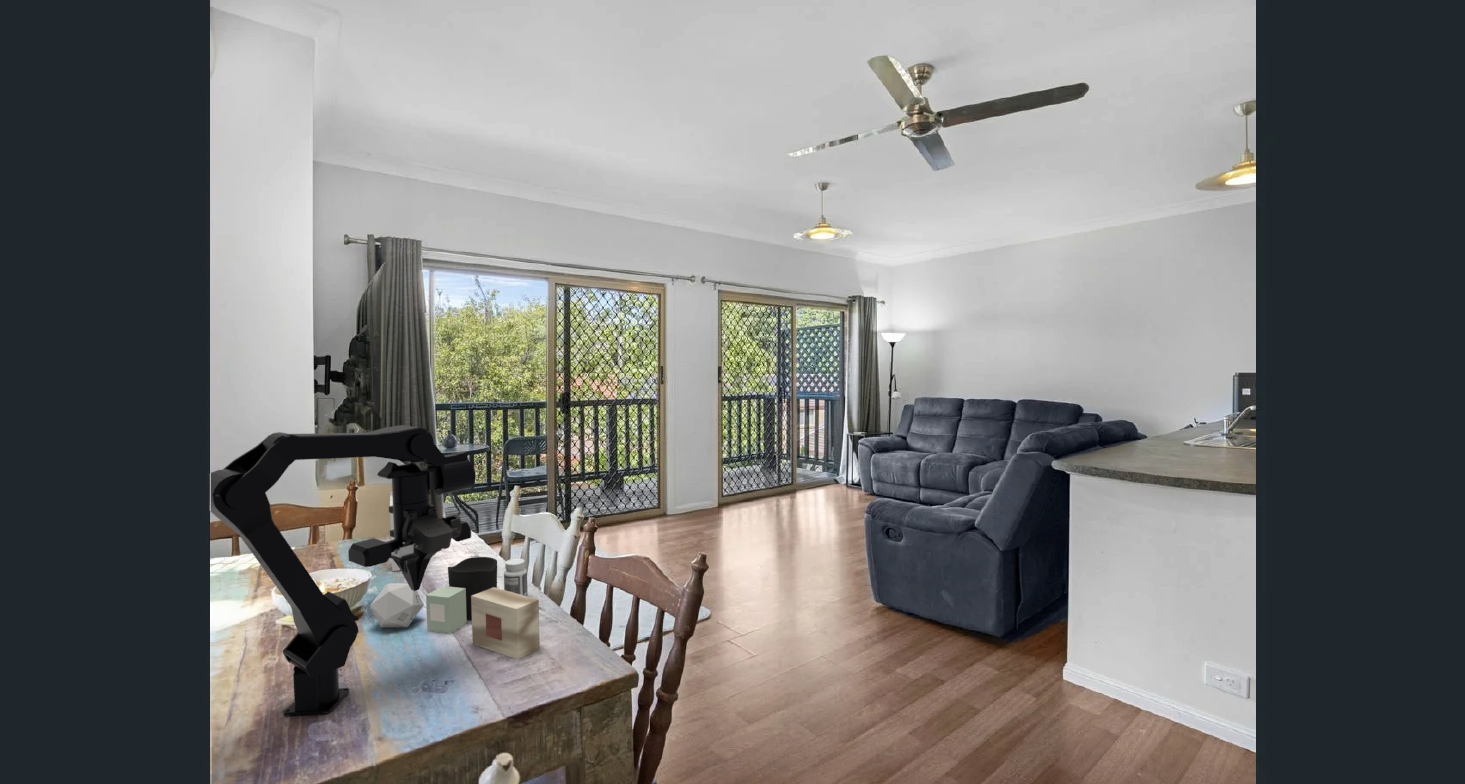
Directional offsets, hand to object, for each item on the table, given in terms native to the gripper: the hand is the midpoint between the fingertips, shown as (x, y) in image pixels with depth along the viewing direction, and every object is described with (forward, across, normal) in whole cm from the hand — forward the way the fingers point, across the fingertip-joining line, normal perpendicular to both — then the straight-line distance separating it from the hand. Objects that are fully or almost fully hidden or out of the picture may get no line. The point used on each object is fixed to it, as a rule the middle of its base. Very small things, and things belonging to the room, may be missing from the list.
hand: (415, 590), depth 112 cm
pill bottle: (+14, +28, +10) cm, 32 cm away
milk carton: (+14, +27, +50) cm, 59 cm away
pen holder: (+14, +19, +11) cm, 26 cm away
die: (+14, +7, +18) cm, 24 cm away
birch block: (+13, +12, -7) cm, 19 cm away
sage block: (+13, +11, +9) cm, 20 cm away
